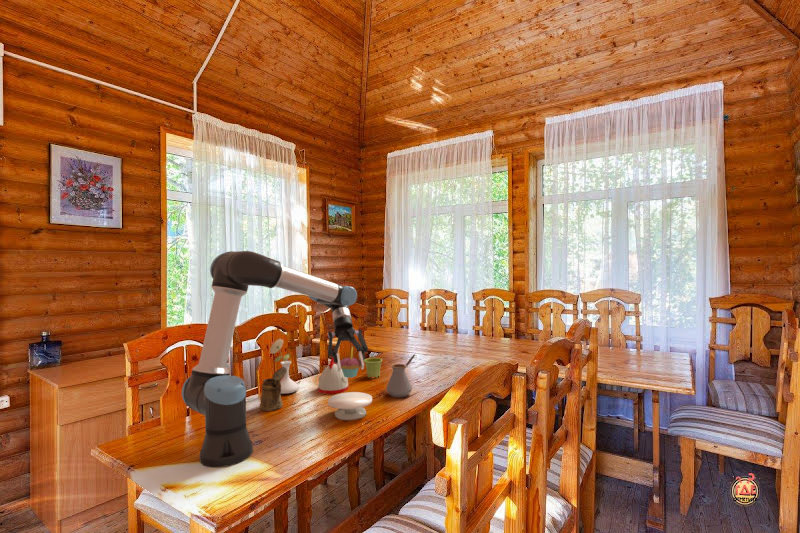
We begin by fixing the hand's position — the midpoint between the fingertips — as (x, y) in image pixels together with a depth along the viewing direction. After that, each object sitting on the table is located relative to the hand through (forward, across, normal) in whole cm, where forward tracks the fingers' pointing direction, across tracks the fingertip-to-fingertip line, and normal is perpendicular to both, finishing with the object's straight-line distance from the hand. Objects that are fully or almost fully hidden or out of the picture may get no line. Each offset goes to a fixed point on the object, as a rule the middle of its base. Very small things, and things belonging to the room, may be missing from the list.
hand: (351, 368), depth 157 cm
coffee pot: (-2, -29, -29) cm, 41 cm away
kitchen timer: (-13, +1, -40) cm, 42 cm away
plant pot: (-23, -22, -50) cm, 59 cm away
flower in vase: (-16, +22, -43) cm, 51 cm away
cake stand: (+11, 0, -16) cm, 19 cm away
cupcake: (0, 0, -5) cm, 5 cm away
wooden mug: (-2, +28, -28) cm, 40 cm away
